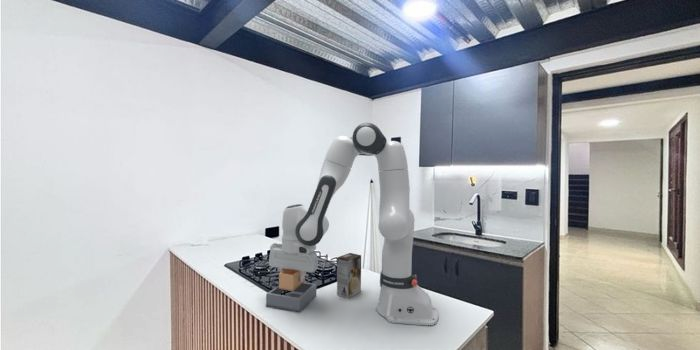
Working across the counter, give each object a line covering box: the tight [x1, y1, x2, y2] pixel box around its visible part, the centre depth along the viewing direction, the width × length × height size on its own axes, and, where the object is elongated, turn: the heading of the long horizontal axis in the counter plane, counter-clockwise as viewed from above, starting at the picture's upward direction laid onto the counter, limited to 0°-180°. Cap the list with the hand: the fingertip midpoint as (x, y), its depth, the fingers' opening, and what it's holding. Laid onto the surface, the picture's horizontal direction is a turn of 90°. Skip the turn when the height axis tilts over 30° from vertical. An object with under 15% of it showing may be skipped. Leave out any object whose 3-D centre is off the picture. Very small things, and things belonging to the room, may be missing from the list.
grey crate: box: [265, 281, 317, 314], centre depth 113 cm, size 14×15×5 cm
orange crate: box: [278, 269, 306, 291], centre depth 112 cm, size 6×10×6 cm, turn 162°
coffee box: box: [336, 252, 362, 299], centre depth 121 cm, size 9×6×16 cm
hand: (292, 279), depth 112 cm, fingers closed on orange crate, 6 cm apart
